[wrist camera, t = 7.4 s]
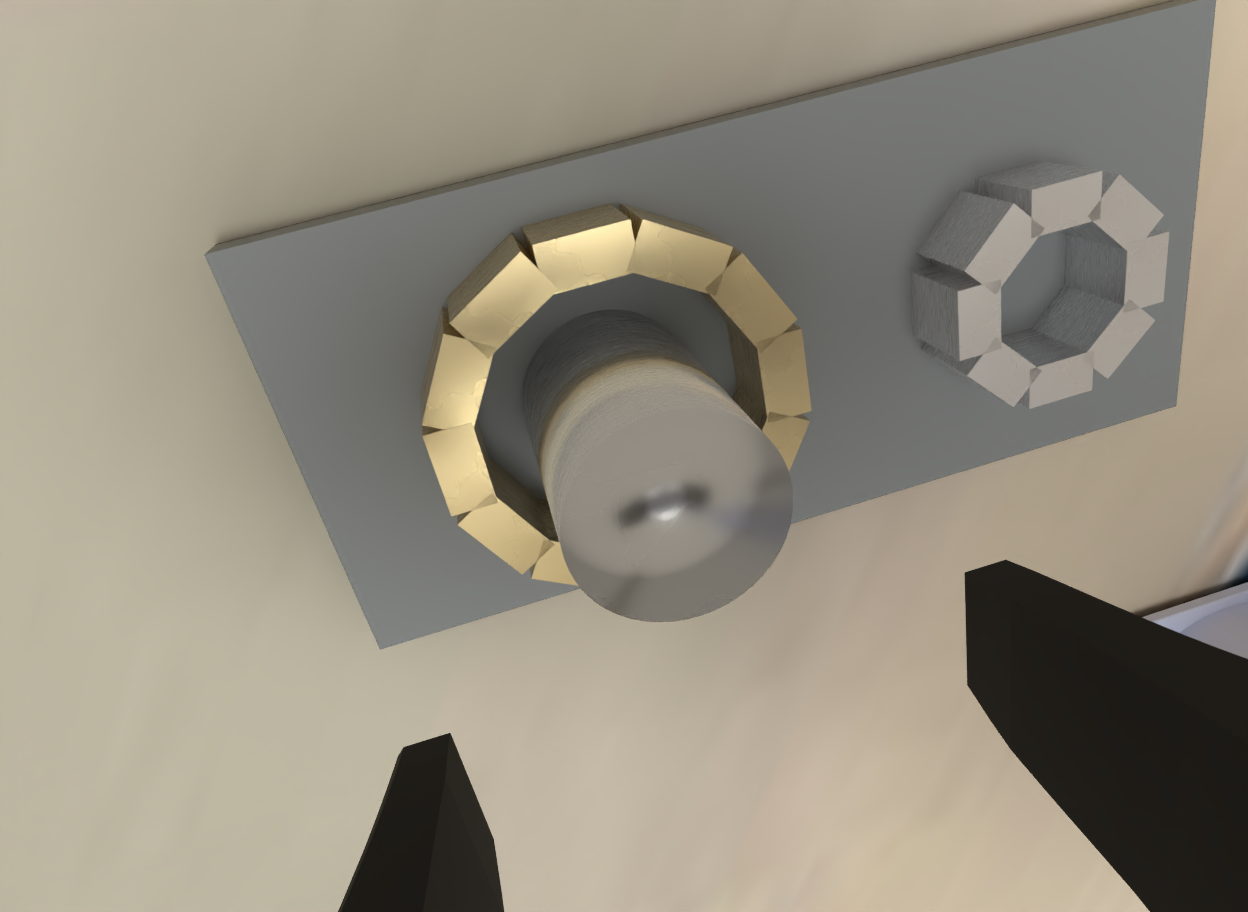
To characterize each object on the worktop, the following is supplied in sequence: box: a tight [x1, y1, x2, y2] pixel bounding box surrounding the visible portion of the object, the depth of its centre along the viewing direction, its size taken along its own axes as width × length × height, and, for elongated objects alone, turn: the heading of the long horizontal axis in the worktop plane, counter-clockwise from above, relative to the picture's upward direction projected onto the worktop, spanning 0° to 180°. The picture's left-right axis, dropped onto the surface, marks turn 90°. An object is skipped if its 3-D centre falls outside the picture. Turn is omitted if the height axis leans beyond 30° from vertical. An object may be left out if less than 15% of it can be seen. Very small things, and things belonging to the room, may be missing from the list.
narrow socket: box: [909, 161, 1169, 409], centre depth 19 cm, size 5×5×2 cm
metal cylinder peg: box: [522, 310, 793, 622], centre depth 17 cm, size 4×4×6 cm
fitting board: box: [205, 0, 1216, 649], centre depth 20 cm, size 22×10×1 cm, turn 102°
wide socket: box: [422, 203, 812, 586], centre depth 18 cm, size 8×8×2 cm
